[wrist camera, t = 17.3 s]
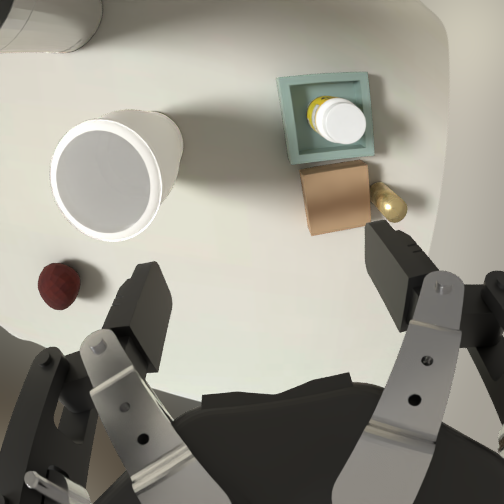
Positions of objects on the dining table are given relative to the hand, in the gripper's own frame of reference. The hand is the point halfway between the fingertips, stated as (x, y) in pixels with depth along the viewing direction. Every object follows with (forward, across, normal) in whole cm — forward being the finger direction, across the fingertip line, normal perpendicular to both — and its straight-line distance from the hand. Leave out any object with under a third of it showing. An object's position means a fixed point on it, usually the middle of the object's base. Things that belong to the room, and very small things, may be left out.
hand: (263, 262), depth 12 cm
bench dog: (+27, -16, +10) cm, 33 cm away
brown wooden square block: (+27, -10, +10) cm, 30 cm away
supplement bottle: (+27, -9, -1) cm, 28 cm away
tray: (+27, -9, -1) cm, 29 cm away
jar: (+28, +12, -1) cm, 30 cm away
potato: (+28, +33, +14) cm, 45 cm away
